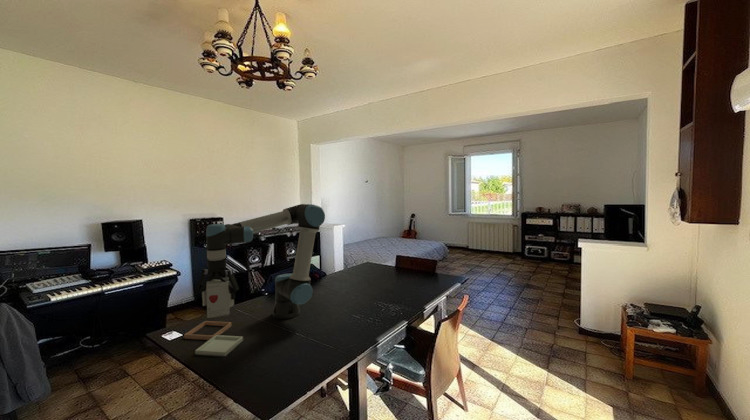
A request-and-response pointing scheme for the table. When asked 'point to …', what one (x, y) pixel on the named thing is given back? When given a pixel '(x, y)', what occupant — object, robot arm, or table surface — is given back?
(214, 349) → the tray
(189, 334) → the frame
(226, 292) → the supplement box
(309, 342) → the table surface
